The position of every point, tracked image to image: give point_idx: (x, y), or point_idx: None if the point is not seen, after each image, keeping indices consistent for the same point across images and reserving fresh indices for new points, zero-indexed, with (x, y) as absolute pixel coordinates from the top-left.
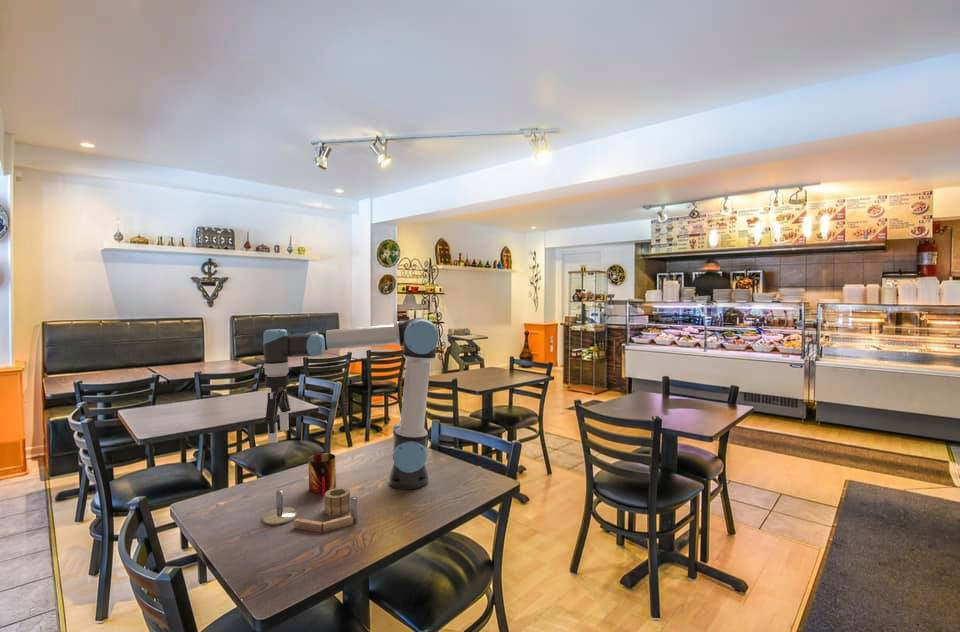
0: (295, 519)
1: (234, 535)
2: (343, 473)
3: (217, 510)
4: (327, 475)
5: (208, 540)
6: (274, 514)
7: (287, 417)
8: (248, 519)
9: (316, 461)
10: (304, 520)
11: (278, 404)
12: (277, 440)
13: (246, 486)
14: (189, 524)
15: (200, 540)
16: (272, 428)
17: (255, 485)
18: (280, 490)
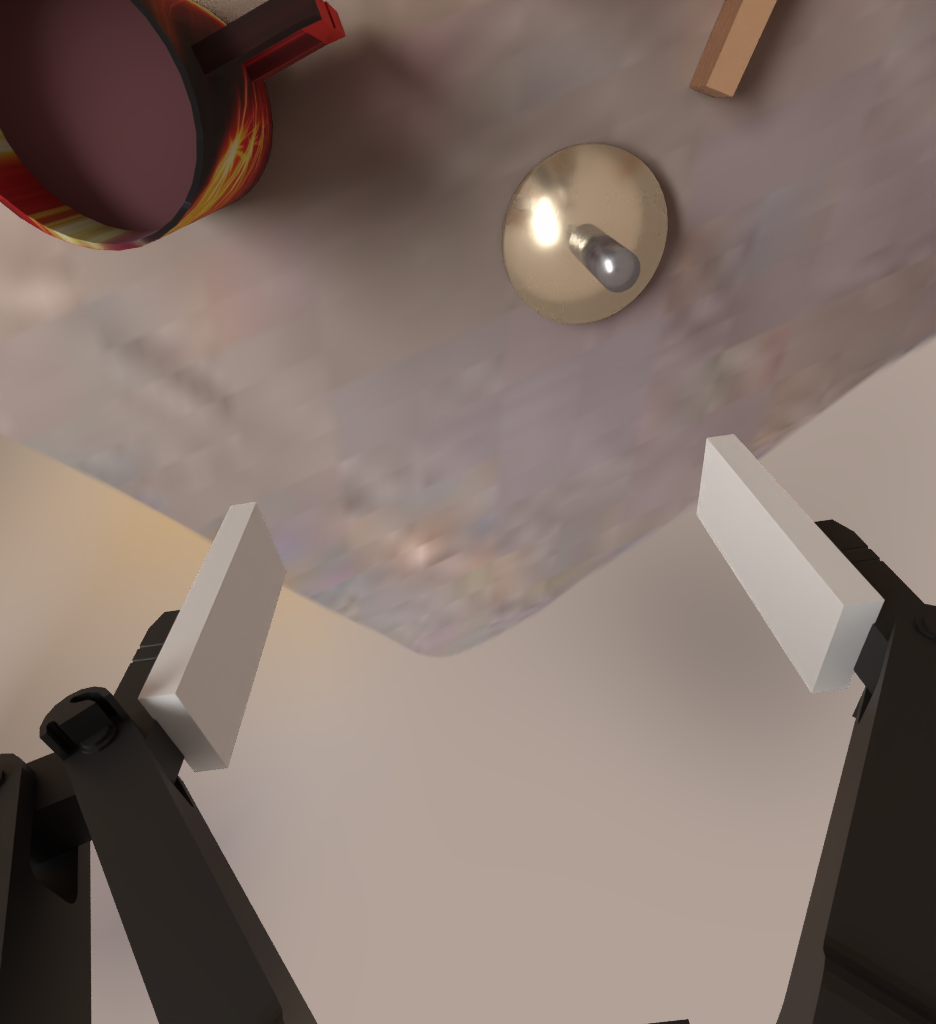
0: (721, 89)
1: (715, 375)
2: None
3: (484, 537)
4: (191, 19)
5: None
6: (584, 271)
7: (207, 625)
8: (577, 386)
9: (52, 199)
10: (752, 11)
11: (872, 975)
12: (727, 445)
13: None
14: (589, 566)
15: None
16: (880, 576)
17: None
18: (611, 268)
